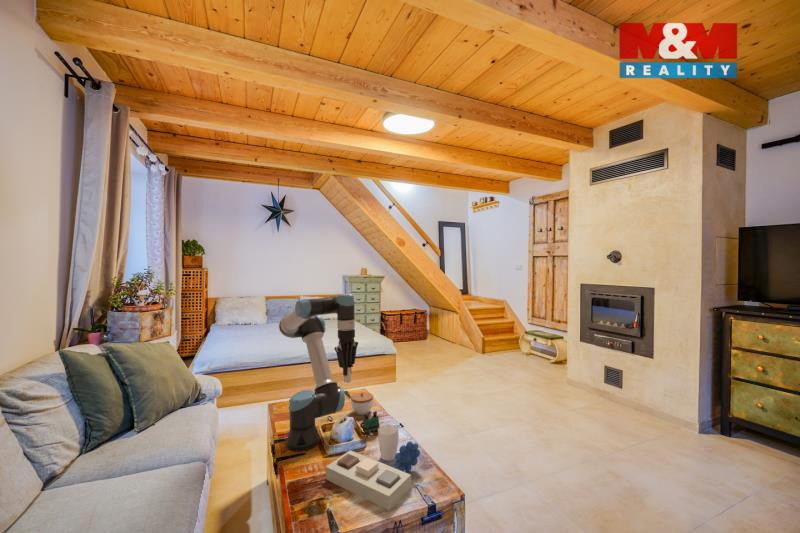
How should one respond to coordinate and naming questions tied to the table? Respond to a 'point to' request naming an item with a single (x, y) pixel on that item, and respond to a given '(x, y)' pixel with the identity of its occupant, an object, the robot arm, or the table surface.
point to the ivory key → (367, 468)
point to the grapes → (407, 457)
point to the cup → (388, 441)
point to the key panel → (369, 482)
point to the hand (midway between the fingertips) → (347, 381)
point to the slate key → (388, 478)
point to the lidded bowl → (362, 402)
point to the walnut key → (348, 461)
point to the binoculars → (370, 424)
